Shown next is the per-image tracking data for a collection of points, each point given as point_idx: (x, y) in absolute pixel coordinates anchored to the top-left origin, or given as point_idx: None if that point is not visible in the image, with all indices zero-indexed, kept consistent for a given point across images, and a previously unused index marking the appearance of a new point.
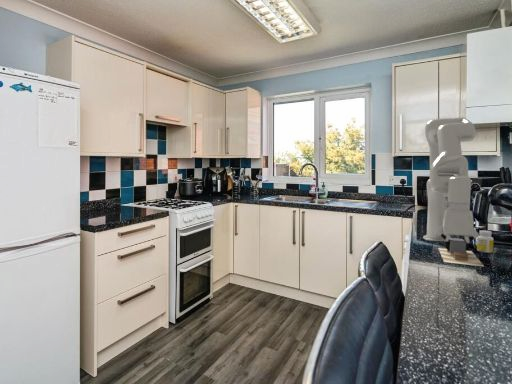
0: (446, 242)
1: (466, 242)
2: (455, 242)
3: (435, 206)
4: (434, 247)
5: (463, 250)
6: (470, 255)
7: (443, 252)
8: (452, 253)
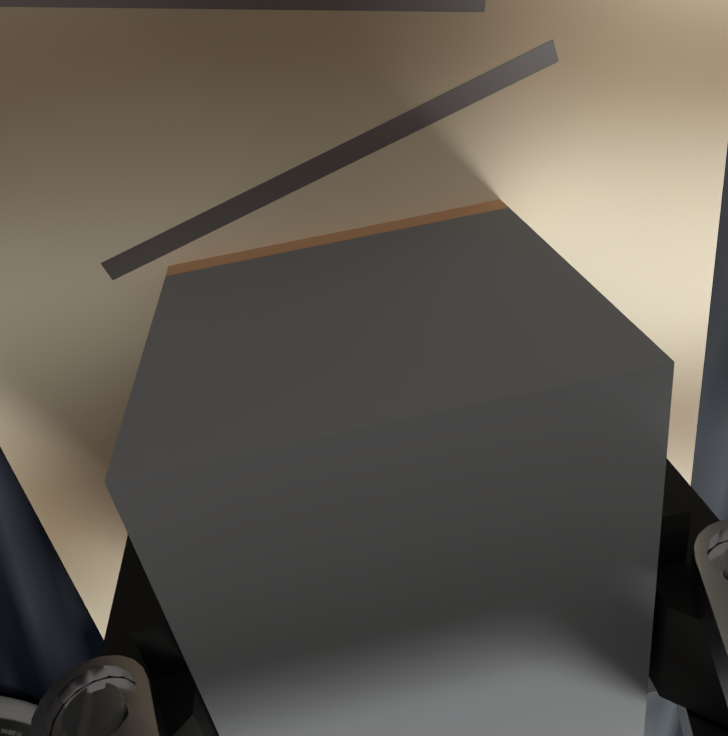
0: (698, 521)
1: (141, 667)
2: (499, 394)
3: None
4: (657, 699)
5: (208, 315)
6: (72, 356)
7: (639, 269)
8: (461, 217)
